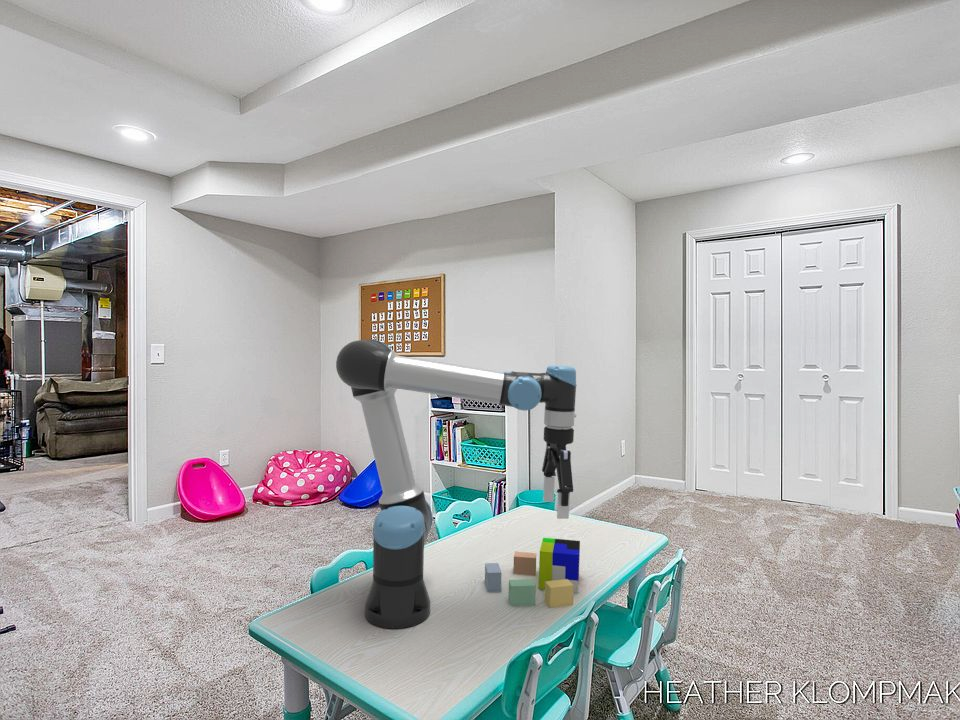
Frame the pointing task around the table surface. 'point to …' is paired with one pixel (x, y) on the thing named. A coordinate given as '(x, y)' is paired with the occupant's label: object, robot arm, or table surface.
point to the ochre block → (558, 593)
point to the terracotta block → (524, 563)
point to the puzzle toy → (559, 561)
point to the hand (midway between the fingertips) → (555, 509)
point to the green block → (522, 592)
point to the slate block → (492, 577)
